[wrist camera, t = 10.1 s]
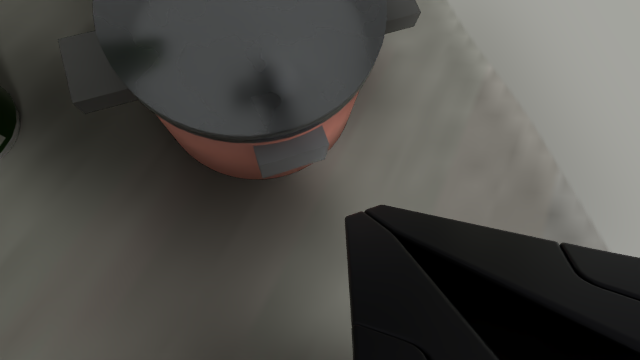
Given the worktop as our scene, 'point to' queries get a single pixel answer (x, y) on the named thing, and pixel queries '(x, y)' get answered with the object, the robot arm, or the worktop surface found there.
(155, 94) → the cooker lid
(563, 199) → the worktop surface
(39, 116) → the worktop surface
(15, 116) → the beer can
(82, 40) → the cooker pot
